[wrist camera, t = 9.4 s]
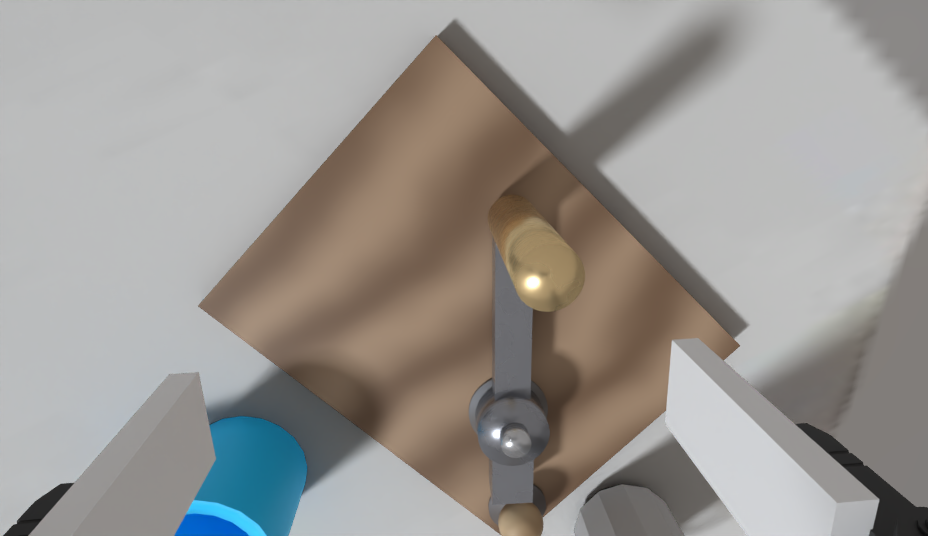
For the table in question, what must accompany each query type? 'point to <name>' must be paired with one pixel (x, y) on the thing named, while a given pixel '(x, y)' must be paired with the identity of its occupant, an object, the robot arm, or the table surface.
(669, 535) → the water bottle
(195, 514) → the mug
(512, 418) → the lever
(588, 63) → the table surface
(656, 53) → the table surface
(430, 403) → the nutcracker base
